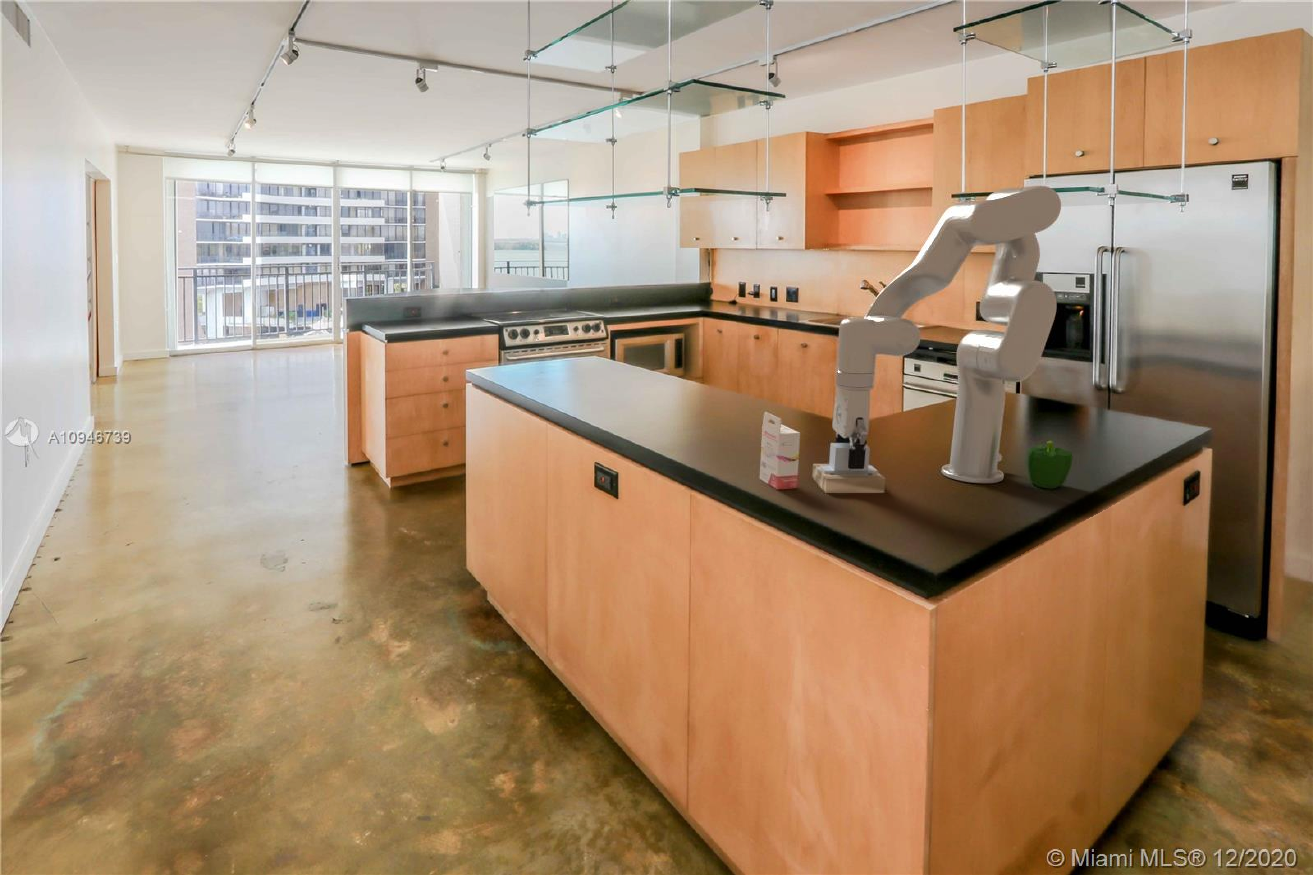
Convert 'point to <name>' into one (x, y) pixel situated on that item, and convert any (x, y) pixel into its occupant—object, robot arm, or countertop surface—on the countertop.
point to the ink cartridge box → (779, 454)
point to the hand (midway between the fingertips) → (848, 462)
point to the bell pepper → (1048, 465)
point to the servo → (845, 461)
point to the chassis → (848, 482)
